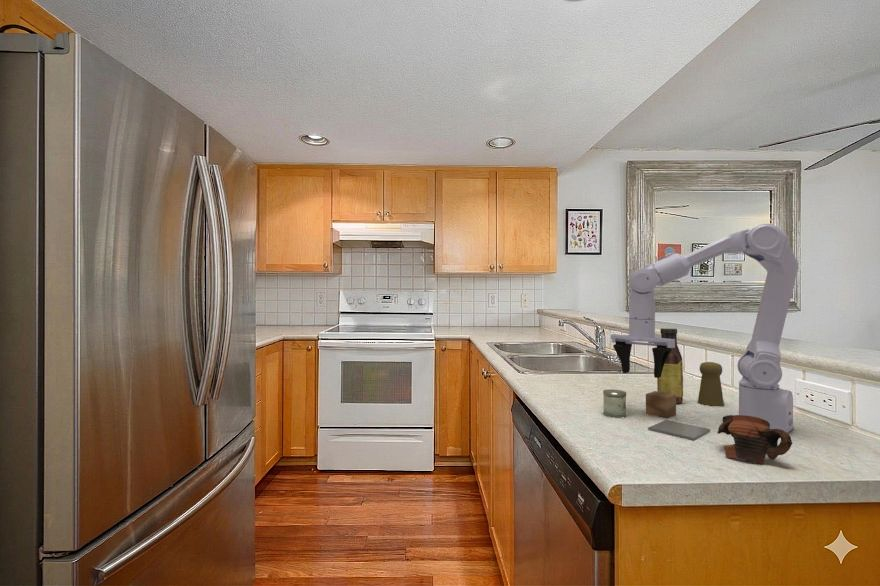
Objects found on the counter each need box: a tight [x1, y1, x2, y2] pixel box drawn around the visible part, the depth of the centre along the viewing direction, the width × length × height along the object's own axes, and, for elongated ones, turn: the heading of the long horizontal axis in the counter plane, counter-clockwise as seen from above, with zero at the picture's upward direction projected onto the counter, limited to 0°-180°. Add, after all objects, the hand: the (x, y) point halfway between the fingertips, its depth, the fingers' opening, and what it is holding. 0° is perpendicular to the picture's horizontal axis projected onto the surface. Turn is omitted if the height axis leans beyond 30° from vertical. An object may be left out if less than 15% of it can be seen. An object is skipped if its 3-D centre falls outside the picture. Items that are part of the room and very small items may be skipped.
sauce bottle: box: [656, 327, 684, 405], centre depth 119 cm, size 7×6×20 cm
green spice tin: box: [602, 388, 627, 419], centre depth 106 cm, size 5×5×6 cm
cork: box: [697, 361, 725, 407], centre depth 117 cm, size 6×6×11 cm
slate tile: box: [647, 419, 711, 441], centre depth 93 cm, size 9×9×1 cm
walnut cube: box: [645, 390, 677, 420], centre depth 106 cm, size 5×5×5 cm
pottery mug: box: [717, 414, 793, 465], centre depth 79 cm, size 12×10×8 cm
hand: (641, 374), depth 106 cm, fingers open, 7 cm apart
